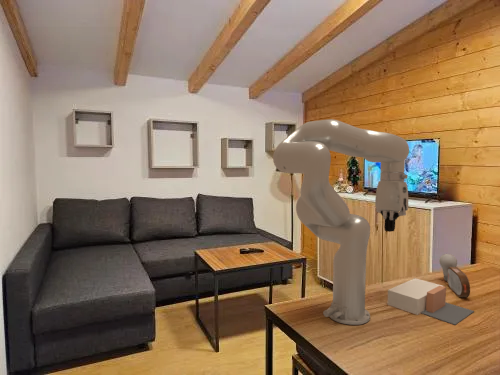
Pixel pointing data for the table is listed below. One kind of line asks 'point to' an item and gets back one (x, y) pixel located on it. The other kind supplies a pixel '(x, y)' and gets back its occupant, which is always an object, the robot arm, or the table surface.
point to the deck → (411, 295)
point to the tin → (458, 282)
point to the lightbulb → (447, 263)
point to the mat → (449, 313)
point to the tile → (436, 299)
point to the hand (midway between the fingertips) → (389, 230)
